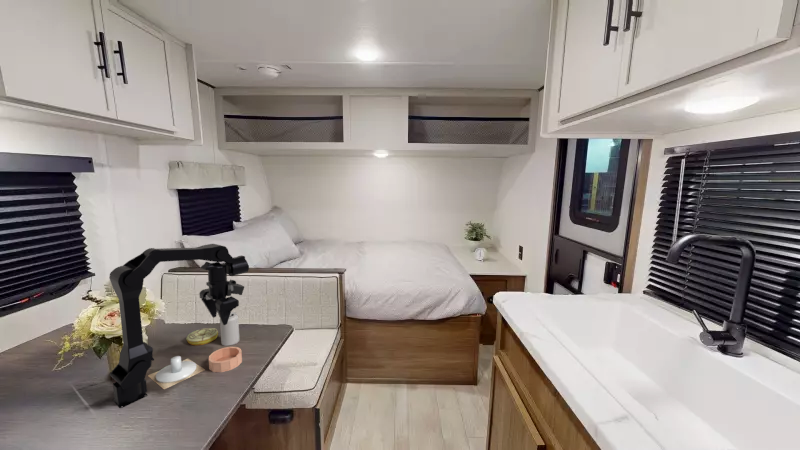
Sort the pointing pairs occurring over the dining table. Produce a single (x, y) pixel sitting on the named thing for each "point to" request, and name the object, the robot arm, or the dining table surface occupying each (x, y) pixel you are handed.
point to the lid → (176, 371)
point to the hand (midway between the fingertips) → (219, 320)
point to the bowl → (225, 359)
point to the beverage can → (230, 330)
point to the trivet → (166, 385)
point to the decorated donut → (202, 336)
